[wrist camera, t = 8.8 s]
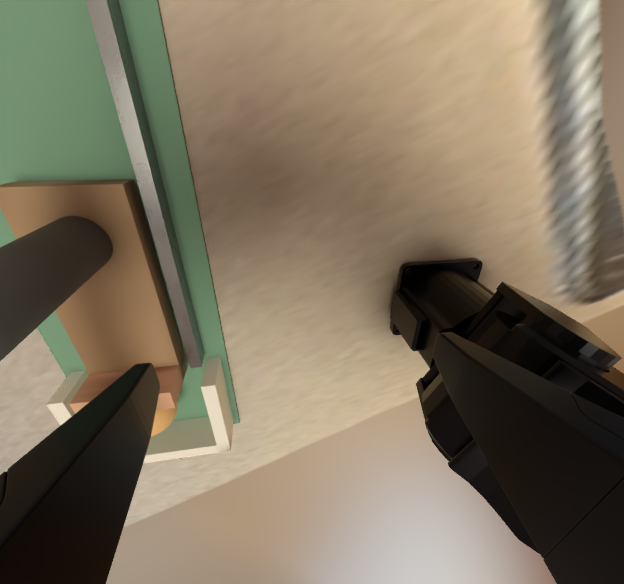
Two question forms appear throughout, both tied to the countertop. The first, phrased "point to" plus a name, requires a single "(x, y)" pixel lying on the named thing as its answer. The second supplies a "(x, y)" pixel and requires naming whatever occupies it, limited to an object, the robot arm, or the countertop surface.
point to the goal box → (179, 434)
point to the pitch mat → (100, 145)
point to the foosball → (163, 419)
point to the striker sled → (88, 281)
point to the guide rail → (145, 164)
